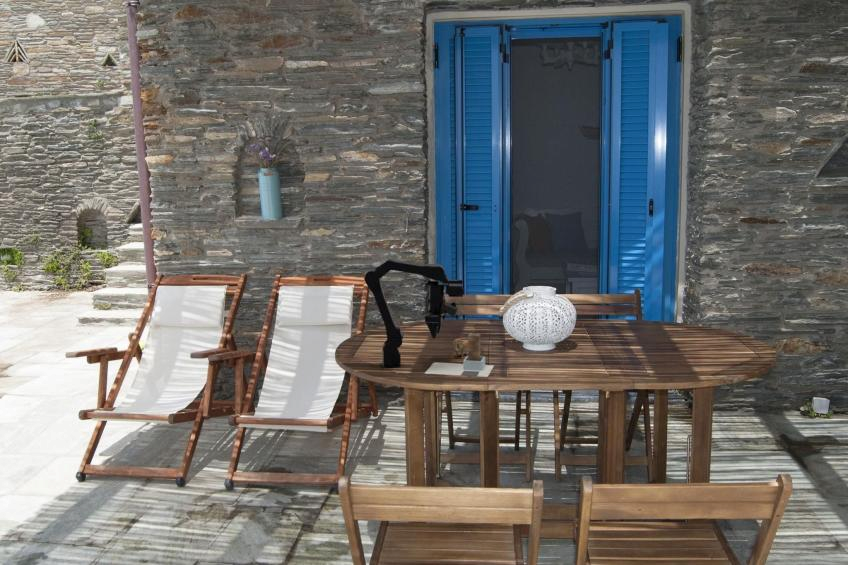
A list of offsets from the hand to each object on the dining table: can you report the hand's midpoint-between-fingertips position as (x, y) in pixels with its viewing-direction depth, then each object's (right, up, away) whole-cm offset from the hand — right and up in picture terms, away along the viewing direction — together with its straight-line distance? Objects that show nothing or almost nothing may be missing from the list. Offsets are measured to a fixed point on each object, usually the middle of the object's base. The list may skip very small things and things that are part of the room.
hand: (436, 335), depth 308 cm
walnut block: (+15, -12, -6) cm, 20 cm away
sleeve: (+15, -12, -6) cm, 20 cm away
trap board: (+9, -13, -8) cm, 18 cm away
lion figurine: (+12, -10, +13) cm, 20 cm away
